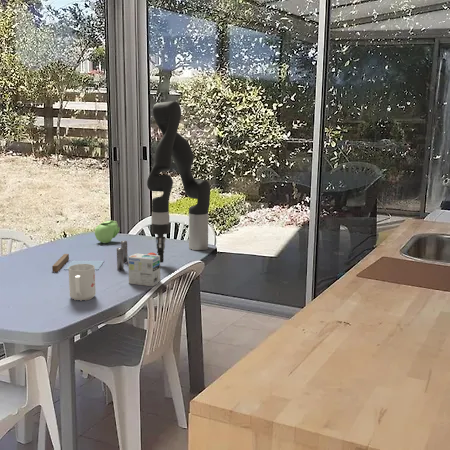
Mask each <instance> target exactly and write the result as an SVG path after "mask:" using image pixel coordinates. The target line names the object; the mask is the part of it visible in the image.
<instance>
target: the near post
mask: <svg viewBox="0 0 450 450" xmlns="http://www.w3.org/2000/svg"><path fill="white" fill-rule="evenodd" d="M116 268H117V271H124V270H125V269H124V268H125V267H124V262H123V248H121V247H117V248H116Z"/></svg>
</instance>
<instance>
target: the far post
mask: <svg viewBox="0 0 450 450" xmlns="http://www.w3.org/2000/svg"><path fill="white" fill-rule="evenodd" d="M120 244H121V245H120V248H123V263H128V257H129V256H128V240H121V241H120Z"/></svg>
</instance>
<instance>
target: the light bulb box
mask: <svg viewBox="0 0 450 450" xmlns="http://www.w3.org/2000/svg"><path fill="white" fill-rule="evenodd" d="M127 263H128V265H127V266H128V284H131V285H139V286H145V287H146V286H148V287H155V286H156V285H158V284H159V283H160V282H159V281H162V280H161V279H162V278H161V263H160V255H158V254H156V255H148V253H147V254H145V253H144V254H143V253H138V252H137V253H134V254H131V255H129V256H128V262H127ZM158 282H159V283H158ZM157 283H158V284H157Z"/></svg>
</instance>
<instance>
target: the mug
mask: <svg viewBox="0 0 450 450" xmlns="http://www.w3.org/2000/svg"><path fill="white" fill-rule="evenodd" d="M95 271H96V270H95V266H94V265H91V264H77V265H72V266H70V267H69V270H68V288H69V297H70V298H71V299H72V300H73V299H74V301H76V300H80V301H79V302H83V301H82V300H85V301H89V300H92V299H93V298H94V297H95V296H96V293H97V291H96V272H95Z"/></svg>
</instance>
